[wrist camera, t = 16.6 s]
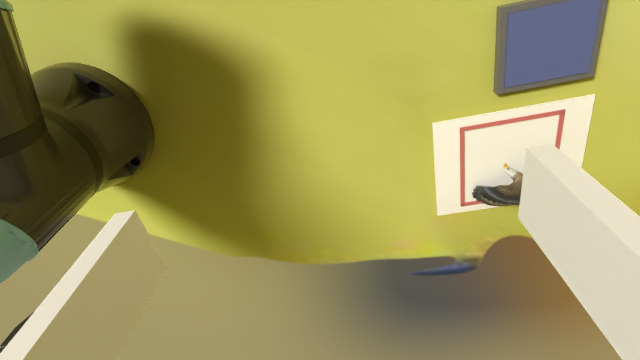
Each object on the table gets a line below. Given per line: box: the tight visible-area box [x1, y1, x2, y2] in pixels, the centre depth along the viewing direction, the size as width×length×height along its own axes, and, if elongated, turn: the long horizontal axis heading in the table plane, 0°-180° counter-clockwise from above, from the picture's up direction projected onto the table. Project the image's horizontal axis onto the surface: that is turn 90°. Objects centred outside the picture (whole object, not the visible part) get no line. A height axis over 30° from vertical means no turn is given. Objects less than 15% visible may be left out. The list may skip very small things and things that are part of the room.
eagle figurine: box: [472, 163, 523, 206], centre depth 44 cm, size 8×7×9 cm
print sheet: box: [432, 94, 595, 216], centre depth 45 cm, size 18×14×1 cm
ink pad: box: [494, 0, 608, 95], centre depth 38 cm, size 10×9×1 cm
